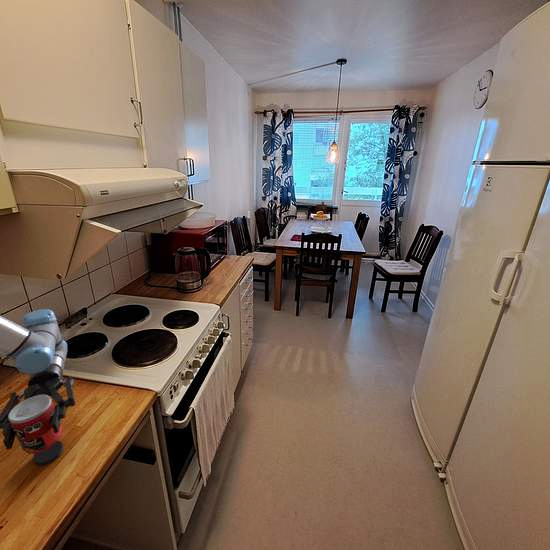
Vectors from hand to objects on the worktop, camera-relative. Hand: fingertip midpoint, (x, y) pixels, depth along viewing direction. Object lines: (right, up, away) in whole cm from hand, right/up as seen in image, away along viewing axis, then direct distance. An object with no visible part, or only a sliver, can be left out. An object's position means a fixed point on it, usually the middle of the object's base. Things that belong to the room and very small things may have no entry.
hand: (31, 436), depth 65 cm
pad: (-3, -9, +8) cm, 13 cm away
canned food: (-2, -5, +6) cm, 8 cm away
